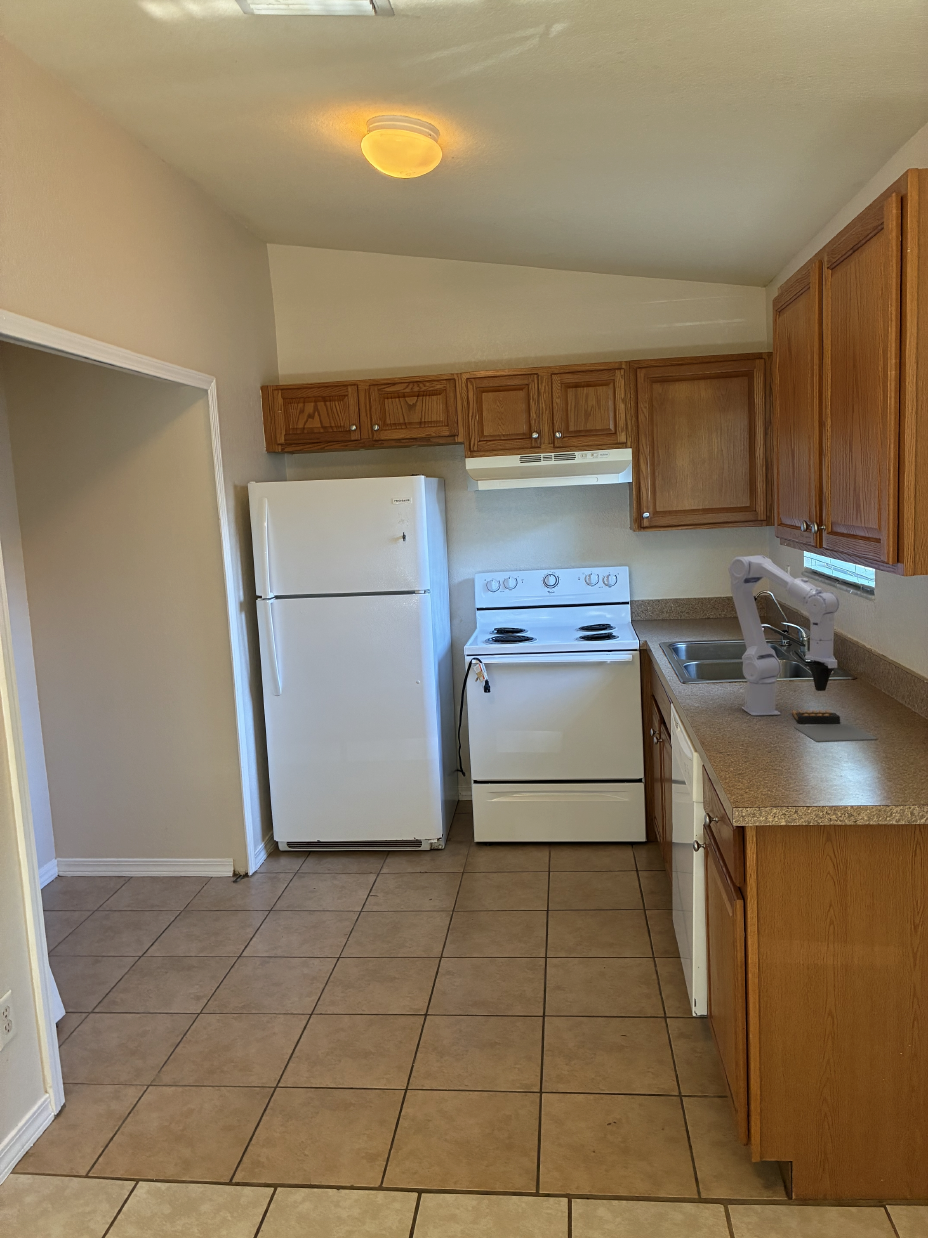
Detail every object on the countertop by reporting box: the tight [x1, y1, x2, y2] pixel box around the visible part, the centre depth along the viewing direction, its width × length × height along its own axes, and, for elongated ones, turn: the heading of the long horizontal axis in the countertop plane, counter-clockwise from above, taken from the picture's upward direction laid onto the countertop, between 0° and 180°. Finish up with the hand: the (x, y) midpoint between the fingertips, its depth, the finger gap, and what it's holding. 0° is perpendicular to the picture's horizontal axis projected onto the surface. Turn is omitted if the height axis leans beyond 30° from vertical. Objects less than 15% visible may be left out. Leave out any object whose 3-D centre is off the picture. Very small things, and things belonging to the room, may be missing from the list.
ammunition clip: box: [791, 709, 841, 724], centre depth 251 cm, size 11×2×12 cm
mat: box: [793, 723, 878, 743], centre depth 235 cm, size 15×15×1 cm
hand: (820, 690), depth 243 cm, fingers closed
